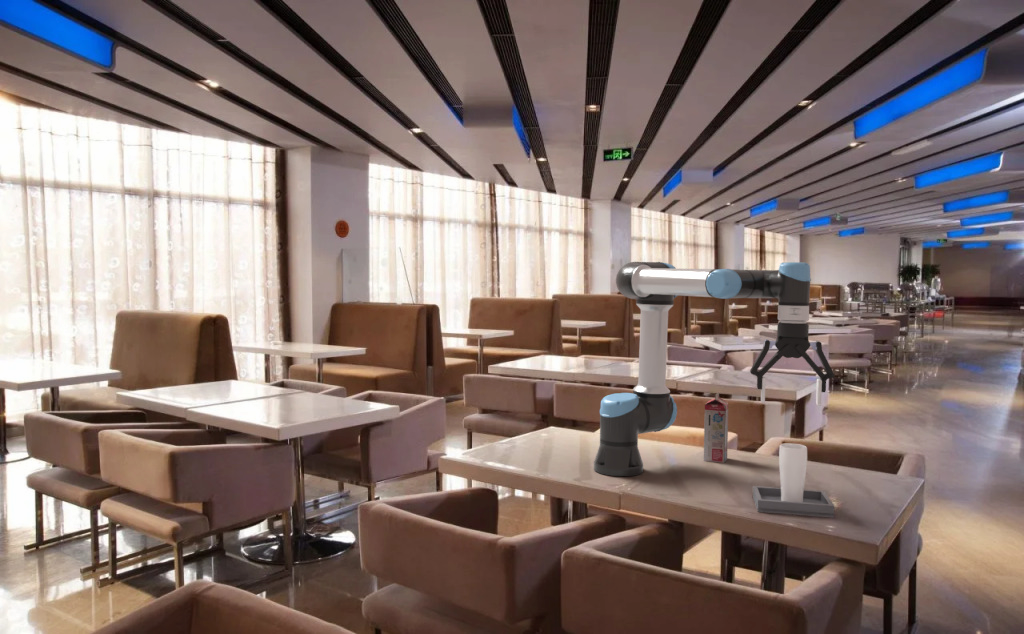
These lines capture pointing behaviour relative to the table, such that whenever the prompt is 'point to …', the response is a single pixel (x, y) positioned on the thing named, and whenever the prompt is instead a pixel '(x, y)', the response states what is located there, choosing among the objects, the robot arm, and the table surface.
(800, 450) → the drinking glass
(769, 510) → the tray
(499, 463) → the table surface
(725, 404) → the juice carton
